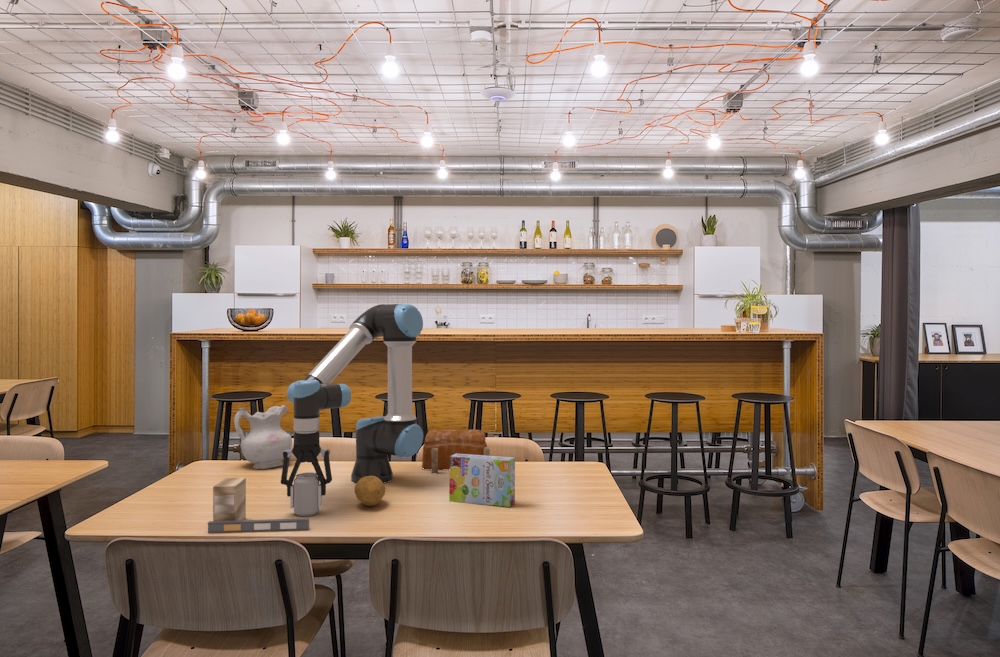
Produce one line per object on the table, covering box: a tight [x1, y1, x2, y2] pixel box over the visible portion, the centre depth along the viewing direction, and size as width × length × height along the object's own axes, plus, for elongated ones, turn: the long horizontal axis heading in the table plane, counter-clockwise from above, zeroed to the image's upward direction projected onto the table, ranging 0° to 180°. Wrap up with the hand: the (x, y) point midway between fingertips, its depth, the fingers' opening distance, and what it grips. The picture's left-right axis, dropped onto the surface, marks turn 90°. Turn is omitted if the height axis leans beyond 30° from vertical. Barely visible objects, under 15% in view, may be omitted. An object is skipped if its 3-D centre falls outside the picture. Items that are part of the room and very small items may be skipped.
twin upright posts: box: [431, 446, 491, 474], centre depth 255 cm, size 22×22×10 cm
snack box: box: [448, 454, 516, 508], centre depth 206 cm, size 21×6×15 cm, turn 71°
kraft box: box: [212, 477, 247, 521], centre depth 183 cm, size 6×10×12 cm, turn 6°
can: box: [293, 472, 320, 517], centre depth 193 cm, size 8×8×12 cm
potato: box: [354, 476, 387, 507], centre depth 202 cm, size 10×13×9 cm
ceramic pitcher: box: [233, 404, 293, 470], centre depth 255 cm, size 22×20×25 cm
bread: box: [421, 428, 488, 469], centre depth 256 cm, size 14×26×16 cm, turn 91°
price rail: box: [207, 517, 310, 534], centre depth 177 cm, size 27×2×3 cm, turn 96°
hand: (306, 506), depth 193 cm, fingers closed on can, 7 cm apart
